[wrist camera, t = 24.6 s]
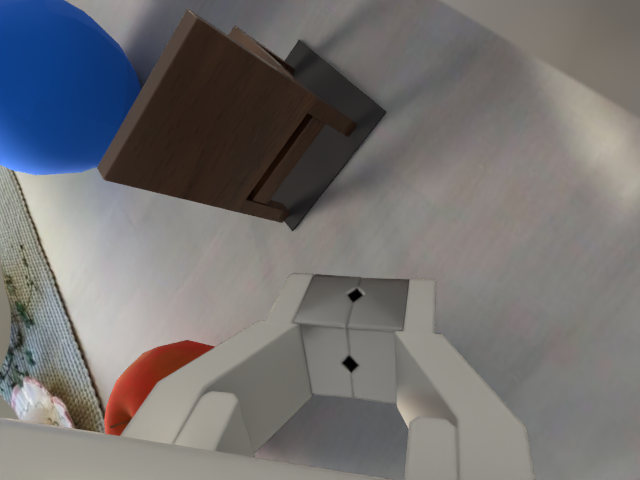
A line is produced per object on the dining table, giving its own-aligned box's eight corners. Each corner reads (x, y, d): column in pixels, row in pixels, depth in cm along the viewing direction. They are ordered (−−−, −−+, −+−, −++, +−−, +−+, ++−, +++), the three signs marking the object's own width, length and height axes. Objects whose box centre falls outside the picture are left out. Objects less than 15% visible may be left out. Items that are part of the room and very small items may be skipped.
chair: (361, 126, 35) (197, 17, 21) (286, 224, 38) (103, 180, 25) (291, 65, 39) (124, -54, 26) (230, 156, 42) (53, 89, 29)
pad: (386, 111, 34) (385, 111, 33) (292, 230, 37) (292, 230, 37) (299, 40, 39) (298, 39, 39) (226, 149, 43) (225, 148, 43)
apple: (286, 346, 36) (165, 359, 27) (276, 476, 35) (147, 538, 26) (202, 331, 42) (78, 338, 32) (191, 443, 41) (60, 484, 31)
